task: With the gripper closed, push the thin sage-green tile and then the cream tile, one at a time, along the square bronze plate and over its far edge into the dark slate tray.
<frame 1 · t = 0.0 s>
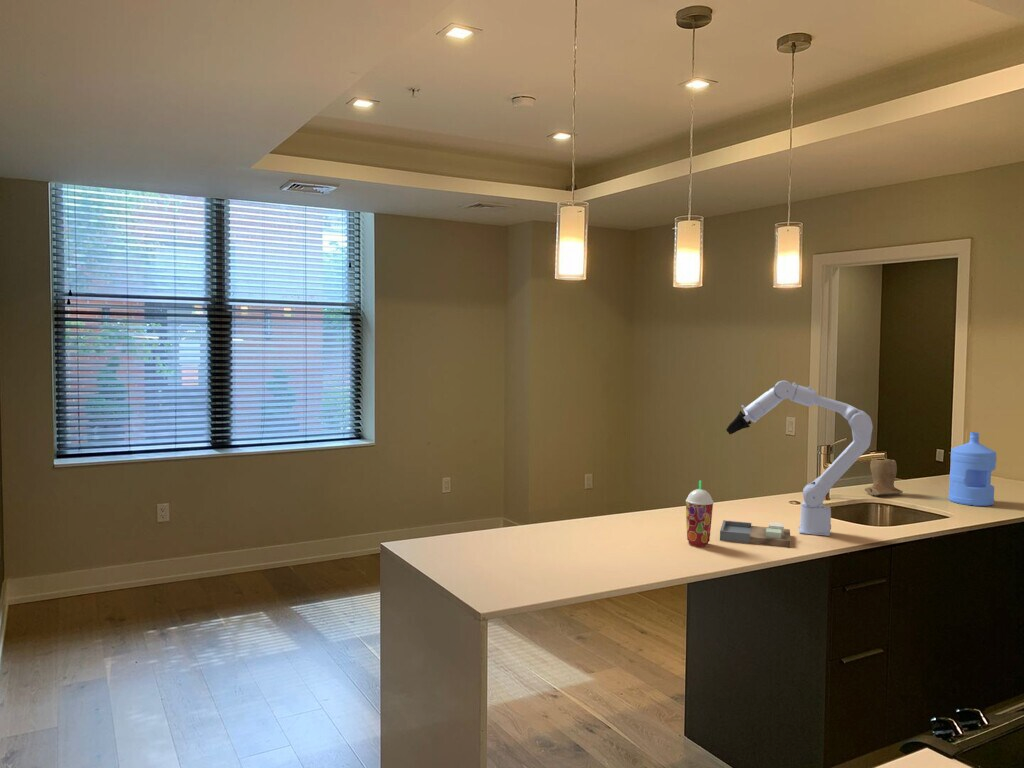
hand: (728, 430, 264), 32 cm above the worktop, tool tilted 50°, fingers open, 7 cm apart
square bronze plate: (769, 539, 247), on the worktop
water jug: (970, 502, 308), on the worktop
slate tray: (735, 535, 250), on the worktop
cream tile: (776, 532, 248), point 2 cm above the worktop, touching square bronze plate
stone cup: (881, 494, 321), on the worktop
smoothie: (698, 545, 240), on the worktop
sage tile: (773, 536, 243), point 2 cm above the worktop, touching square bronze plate
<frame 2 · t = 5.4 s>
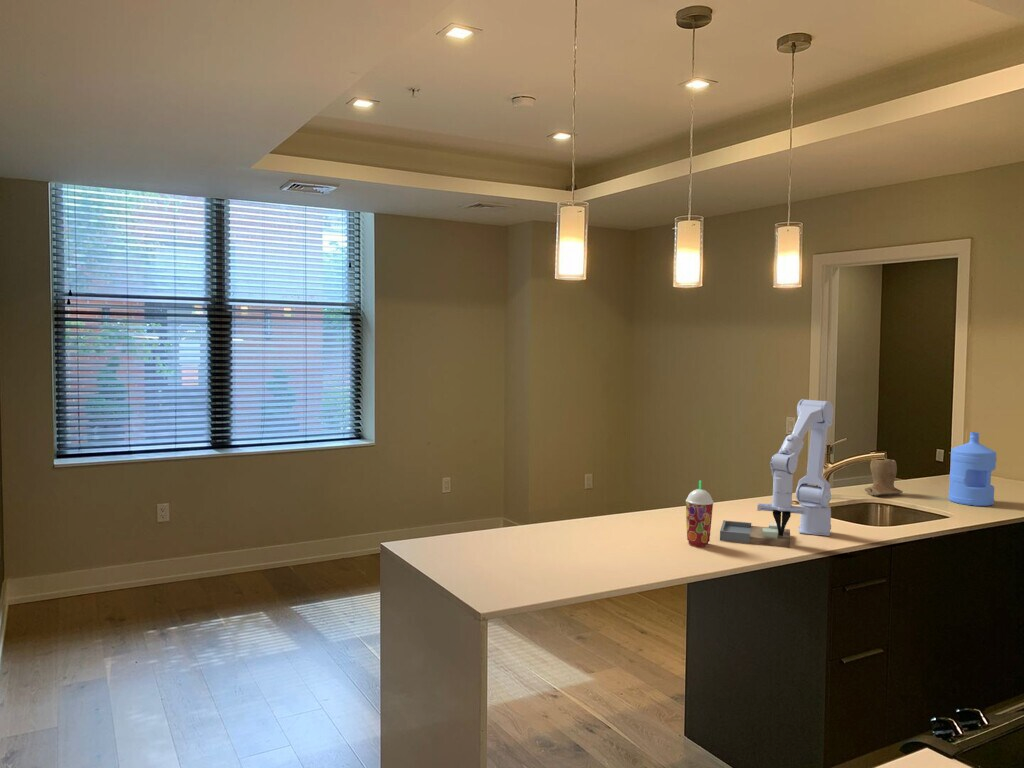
hand: (780, 535, 242), 3 cm above the worktop, tool pointing down, fingers closed
sage tile: (769, 535, 243), point 2 cm above the worktop, touching gripper, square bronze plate
everything else where it was.
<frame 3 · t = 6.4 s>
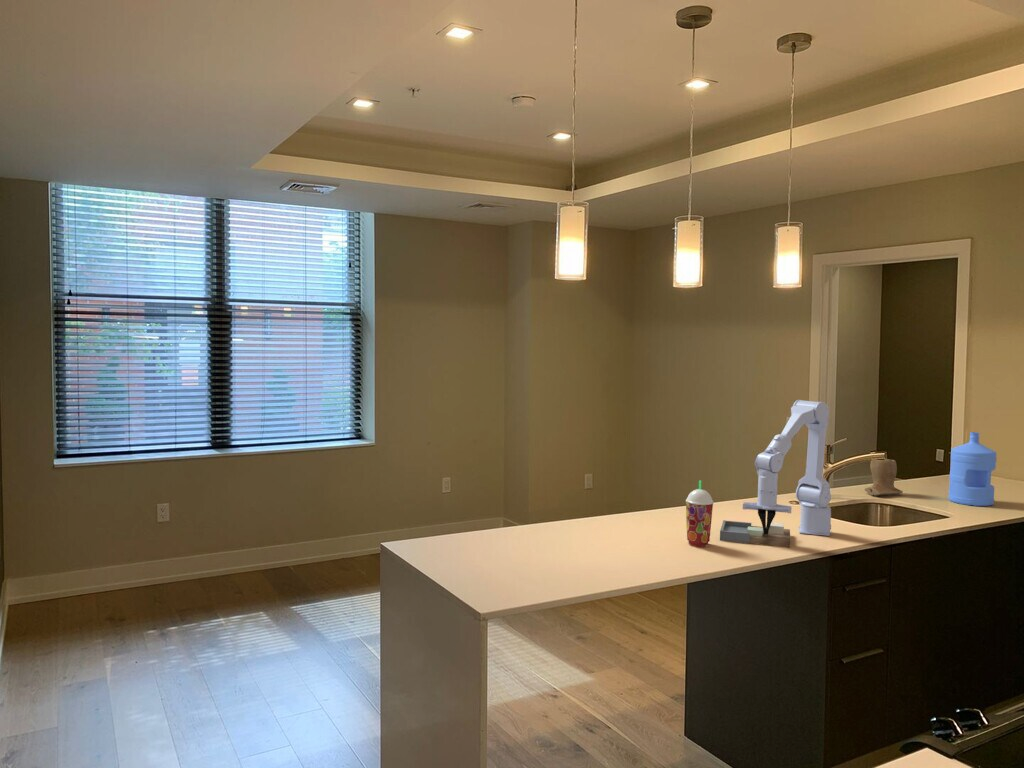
hand: (765, 533, 244), 3 cm above the worktop, tool pointing down, fingers closed
sage tile: (754, 534, 245), point 2 cm above the worktop, touching gripper, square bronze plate
everything else where it was.
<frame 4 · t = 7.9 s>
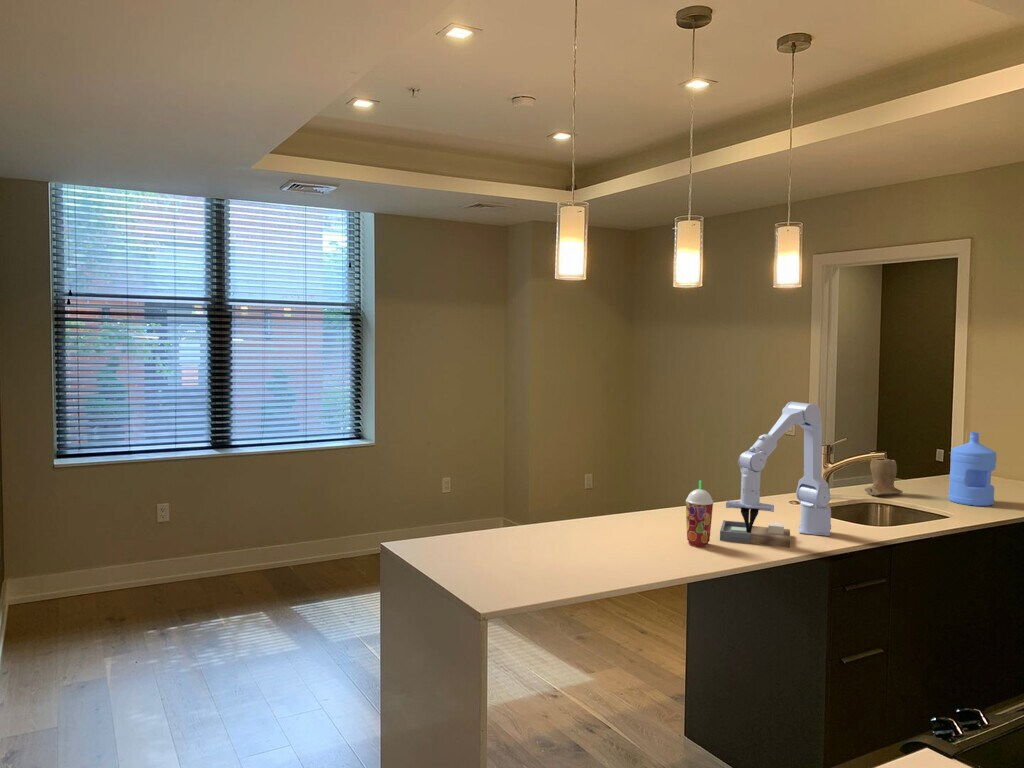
hand: (748, 531, 245), 3 cm above the worktop, tool pointing down, fingers closed
sage tile: (738, 534, 246), point 2 cm above the worktop, touching slate tray
everything else where it was.
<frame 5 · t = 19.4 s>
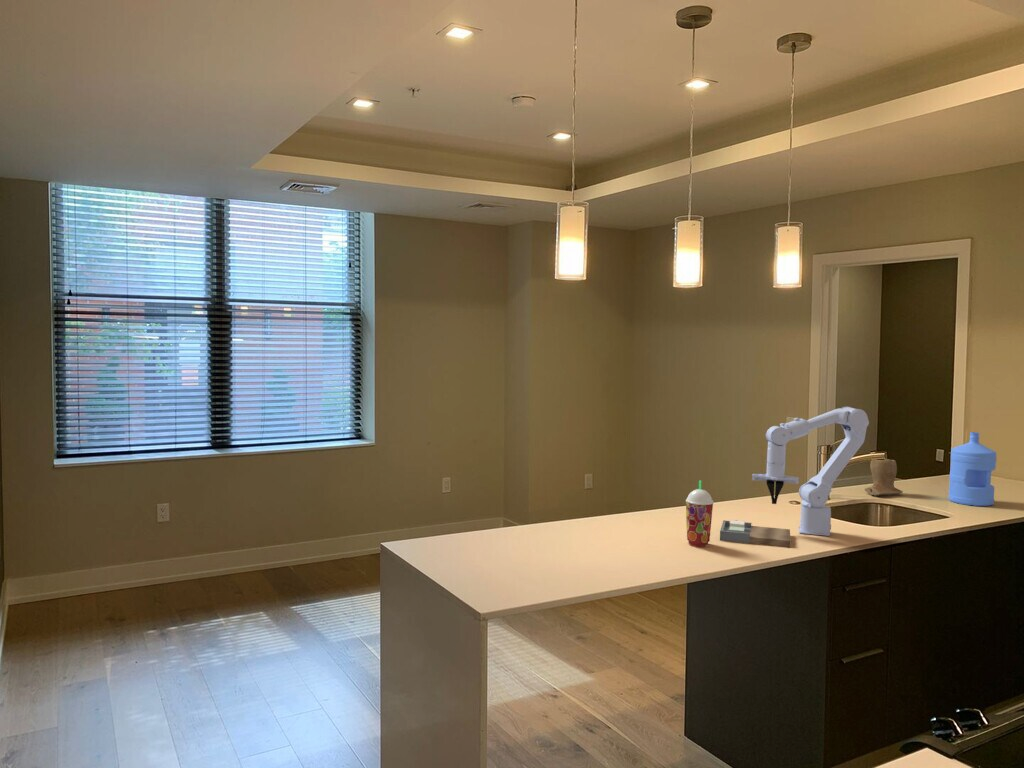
hand: (774, 503, 256), 9 cm above the worktop, tool pointing down, fingers closed
cream tile: (736, 529, 252), point 1 cm above the worktop, touching slate tray
everything else where it was.
at the end: cream tile inside the target area on the slate tray (2.5 cm from its centre), point 1.5 cm above the slate tray's base; sage tile inside the target area on the slate tray (4.0 cm from its centre), point 1.5 cm above the slate tray's base; cream tile tilted 0° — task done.
